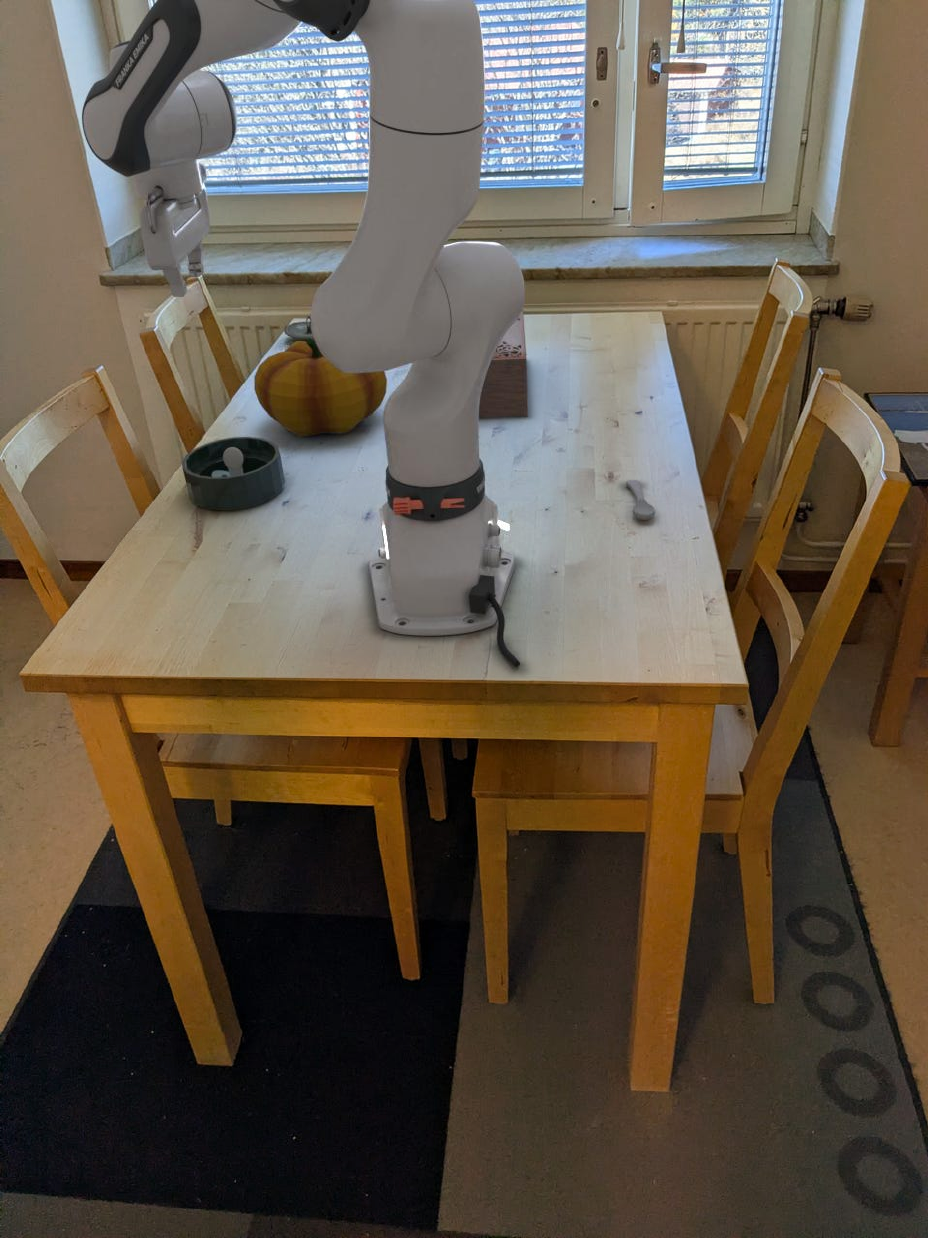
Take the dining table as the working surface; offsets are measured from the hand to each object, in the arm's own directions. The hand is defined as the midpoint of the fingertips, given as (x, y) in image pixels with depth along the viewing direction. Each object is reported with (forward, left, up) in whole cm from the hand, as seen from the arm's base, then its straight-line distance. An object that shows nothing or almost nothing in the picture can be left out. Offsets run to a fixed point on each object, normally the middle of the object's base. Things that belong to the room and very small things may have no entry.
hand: (189, 285), depth 138 cm
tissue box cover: (+28, -40, -29) cm, 57 cm away
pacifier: (-8, -3, -28) cm, 30 cm away
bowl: (-7, -3, -29) cm, 30 cm away
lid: (+61, -4, -29) cm, 67 cm away
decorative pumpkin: (+17, -13, -29) cm, 36 cm away
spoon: (-16, -62, -29) cm, 70 cm away
